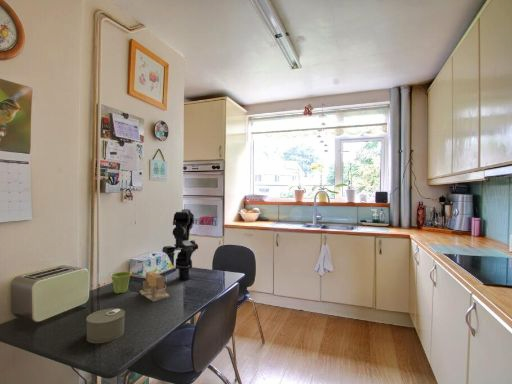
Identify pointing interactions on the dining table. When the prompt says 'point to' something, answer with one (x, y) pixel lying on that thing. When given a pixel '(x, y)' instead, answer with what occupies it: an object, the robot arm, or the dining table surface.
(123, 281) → the plant pot
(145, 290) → the tan piece
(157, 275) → the orange tan rectangular block
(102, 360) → the dining table surface
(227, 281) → the dining table surface
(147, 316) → the dining table surface
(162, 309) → the dining table surface
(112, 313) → the can
